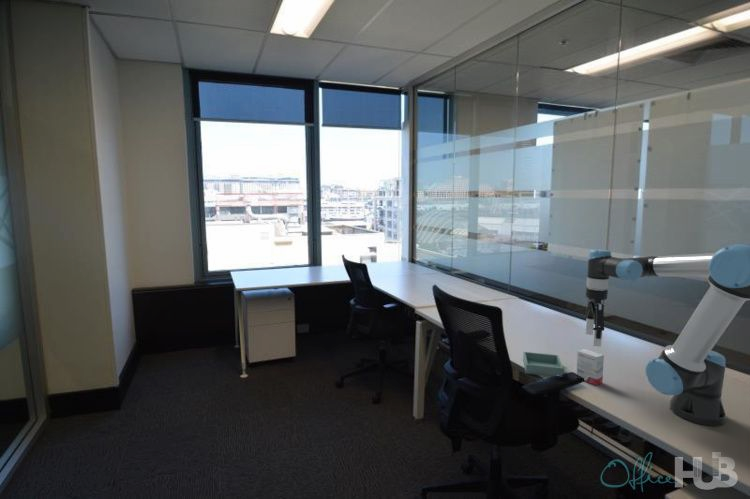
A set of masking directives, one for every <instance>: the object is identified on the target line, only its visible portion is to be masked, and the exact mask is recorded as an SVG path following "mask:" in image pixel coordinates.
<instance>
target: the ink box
mask: <svg viewBox="0 0 750 499" xmlns="http://www.w3.org/2000/svg"><path fill="white" fill-rule="evenodd" d="M576 357H577V358H576V374H577V375H579V376H581V377H583V378H584V380H585V381H584V382H586V383H589V384H591V385H595V386H599V385H600V384H602V383H603V378H604V359H605V356H604V354H602V353H598V352H596V351H594V350H593V351H592V350H589V349H586V348H582V349H579V350H577V356H576Z"/></svg>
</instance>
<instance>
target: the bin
mask: <svg viewBox="0 0 750 499" xmlns="http://www.w3.org/2000/svg"><path fill="white" fill-rule="evenodd" d="M522 361H523V367H524V371H525V372H524V373H525V374H527V375H535V376H536V375H537V376H545V377H552V376H557V375H563V376H564V366H563V364H562V362H561V359H560V357H559V355H558V354H551V353H550V354H549V353H541V352H540V353H539V352H531V351H529V352H528V351H523V355H522Z"/></svg>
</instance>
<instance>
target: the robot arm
mask: <svg viewBox="0 0 750 499" xmlns="http://www.w3.org/2000/svg"><path fill="white" fill-rule="evenodd" d="M587 261H588V262H587V264H588V265H587V274H586V275H587V277H586V289H585V297H586V298H587V299H588V302H587V305H586V311H585V313H584V314H585V317H586V320H585V321H586V322H585V335H591V336H593V339H592V346H593V347H602V337H603V331H605V317H604V312H605V311H604V309H605V304H603V303H602V301H605V300H607V299H608V292H609V291H608V289H609V284H610V283H611V281H610V278H615V279H619V280H622V281H629V282H636V281H637V280H638V279H640V278H650V277H652V278H653V277H655V278H657V277H708V278H707V281H708V284H709V285H710V287H709V288H708V289H707V291H706V292H705V294H704V295H703V297H702V299H701V300H700V302H699V304H698V305H697V307H696V308H695V310H694V311H693V313H692V314H691V316H690V318H689V319H688V321H687V322H686V324H685V326H684V328H682V331H681V332H680V333H679V335H678V336H677V339H676V340H675V342H673V344H669V345H666V346H665V347H664V348H663V350H662V352H661V353H660V355H659V356H658V357H656V358H652V359H651V360H649V361H648V362H647V363H646V365H645V370H644V371H645V376H646V377H647V381H648V383H649V384H650V385H651V386H652V388H654V389H655V391H657V392H659V393H660V394H662V395H666V396H672V397H671V399H670V402H669V409H670V411H671V410H672V411H673V412H672V411H671V412H672V413H673V414H675V415H676V416H678V417H679V418H682V419H685V420H686V421H689V422H692V423H695V424H698V425H702V426H703V425H704V426H709V427H710V426H712V427H718V426H722V425H725V423H726V417H727V416H726V412H725V409H724V408H725V407H724V404H723V401H722V400H723V399H722V395H723V394H722V393H723V386H724V378H725V372H726V368H727V367H726V361H727V360H726V357H725V356H724V355H723V354H721V353H719V352H717V351H714V350H713V348H714V347H715V345H716V344H717V342H718V341H719V339H721V336H722V335H723V334H724V333H725V331H726V329H727V328H728V326H729V325H730V324H731V322H732V321H733V319H734V318H735V317H736V315H737V314H738V312H739V311H740V310H741V308H742V306H743V305H744V304H745V302H746V301H750V243H749V244H748V243H737V244H736V243H735V244H732V245H728V246H726V247H722V248H720V249H719V250H717V251H716V252H705V253H693V254H690V253H689V254H688V253H687V254H674V255H673V254H671V255H670V254H669V255H659V256H656V255H655V256H654V255H651V256H641V257H625V258H623V257H615V256H612V251H611V250H608V249H602V248H593V249H591V250H590V251H589V254H588V259H587Z"/></svg>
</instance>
